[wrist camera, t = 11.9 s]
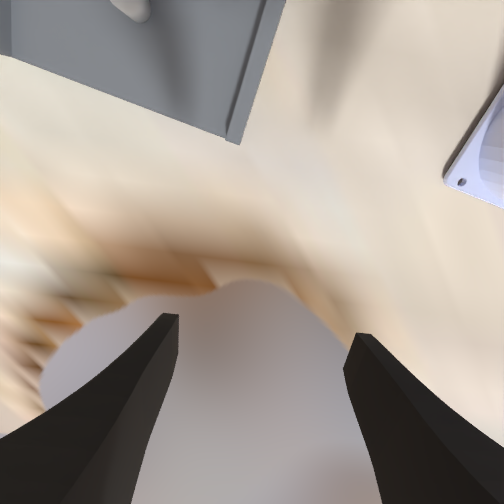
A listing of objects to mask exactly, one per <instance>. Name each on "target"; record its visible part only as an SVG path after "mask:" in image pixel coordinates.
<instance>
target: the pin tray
mask: <svg viewBox="0 0 504 504" xmlns="http://www.w3.org/2000/svg"><path fill="white" fill-rule="evenodd" d="M285 3H286V0H0V54H1V55H5V56H9V57H13V58H15V59H18V60H21V61H23V62H26V63H28V64H31V65H34V66H36V67H39V68H42V69H44V70H47V71H49V72H52V73H55V74H57V75H60V76H63V77H65V78H68V79H70V80H73V81H76V82H78V83H81V84H84V85H86V86H89V87H91V88H94V89H97V90H99V91H102V92H105V93H107V94H110V95H112V96H115V97H118V98H120V99H123V100H126V101H128V102H131V103H133V104H136V105H139V106H141V107H144V108H147V109H149V110H152V111H154V112H157V113H160V114H162V115H165V116H168V117H170V118H173V119H175V120H178V121H181V122H183V123H186V124H189V125H191V126H194V127H196V128H199V129H202V130H204V131H207V132H209V133H212V134H215V135H217V136H220V137H223V138H225V140H226V141H229V142H231V143H234V144H237V145H240V143H241V140H242V137H243V134H244V130H245V127H246V124H247V121H248V118H249V115H250V112H251V109H252V106H253V102H254V99H255V96H256V93H257V90H258V87H259V84H260V81H261V77H262V74H263V71H264V68H265V65H266V62H267V59H268V56H269V52H270V49H271V46H272V43H273V40H274V37H275V34H276V31H277V28H278V24H279V21H280V18H281V15H282V12H283V9H284V6H285Z"/></svg>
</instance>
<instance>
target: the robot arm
mask: <svg viewBox="0 0 504 504" xmlns="http://www.w3.org/2000/svg"><path fill="white" fill-rule="evenodd" d="M461 178H462V182H461V183H460V184H459V185H458V181H459V180H460V179H461ZM443 182H444V184H445V185H446V186H448V187H451V188H453V189H456V190H458V191H461V192H463V193H466V194H468V195H471V196H473V197H476V198H478V199H481V200H483V201H486V202H488V203H491V204H493V205H496V206H498V207H501V208H503V209H504V85H503V86H502V88H501V89H500V91H499V92H498V94H497V95H496V97H495V99H494V100H493V102H492V103H491V105H490V106H489V108H488V109H487V111H486V113H485V114H484V116H483V117H482V119H481V120H480V122H479V123H478V125H477V126H476V128H475V130H474V131H473V133H472V134H471V136H470V137H469V139H468V140H467V142H466V144H465V145H464V147H463V148H462V150H461V151H460V153H459V154H458V156H457V157H456V159H455V161H454V162H453V164H452V165H451V167H450V168H449V170H448V171H447V173H446V175H445V176H444V179H443ZM178 332H179V315H178V314H168V313H163V314H161V315H160V316H159V317H158V318H157V320H156V321H155V322H154V323H153V324H152V325H151V326H150V327H149V328H148V329H147V330H146V331H145V332H144V333H143V334H142V335H141V336H140V337H139V338H138V339H137V340H136V341H135V342H134V343H133V344H132V345H131V346H130V347H129V348H128V349H127V350H126V351H125V352H124V353H122V354H121V355H120V356H119V357H118V358H117V359H116V360H114V361H113V362H112V363H111V364H110V365H109V366H108V367H106V368H105V369H104V370H103V371H102V372H100V373H99V374H98V375H97V376H95V377H94V378H93V379H92V380H90V381H89V382H88V383H86V384H85V385H84V386H82V387H81V388H80V389H78V390H77V391H76V392H74V393H73V394H71V395H70V396H68V397H67V398H65V399H64V400H63V401H61V402H60V403H58V404H57V405H55V406H54V407H52V408H51V409H49V410H48V411H46V412H45V413H43V414H41V415H40V416H38V417H36V418H35V419H33V420H31V421H30V422H28V423H26V424H25V425H23V426H21V427H20V428H18V429H16V430H15V431H13V432H11V433H10V434H8V435H6V436H5V437H3V438H1V439H0V504H131V501H132V497H133V493H134V490H135V486H136V482H137V479H138V475H139V472H140V468H141V465H142V461H143V457H144V454H145V450H146V447H147V444H148V441H149V438H150V435H151V433H152V430H153V427H154V425H155V422H156V419H157V416H158V414H159V411H160V408H161V406H162V403H163V401H164V398H165V395H166V393H167V390H168V387H169V384H170V382H171V379H172V376H173V372H174V368H175V364H176V359H177V356H178ZM343 371H344V376H345V381H346V386H347V390H348V394H349V397H350V400H351V403H352V406H353V409H354V412H355V415H356V418H357V421H358V424H359V426H360V429H361V432H362V435H363V438H364V440H365V443H366V446H367V449H368V452H369V455H370V458H371V461H372V465H373V468H374V472H375V476H376V480H377V484H378V487H379V492H380V496H381V500H382V504H504V447H502V446H501V445H499V444H498V443H496V442H495V441H494V440H492V439H491V438H489V437H488V436H487V435H485V434H484V433H482V432H481V431H480V430H478V429H477V428H476V427H474V426H473V425H472V424H470V423H469V422H468V421H467V420H465V419H464V418H463V417H462V416H460V415H459V414H458V413H456V412H455V411H454V410H453V409H451V408H450V407H449V406H448V405H447V404H445V403H444V402H443V401H442V400H441V399H440V398H438V397H437V396H436V395H435V394H434V393H433V392H432V391H430V390H429V389H428V388H427V387H426V386H425V385H424V384H423V383H421V382H420V381H419V380H418V379H417V378H416V377H415V376H414V375H413V374H412V373H411V372H410V371H409V370H408V369H407V368H405V367H404V366H403V365H402V364H401V363H400V362H399V361H398V360H397V359H396V358H395V357H394V356H393V355H392V354H391V353H390V352H389V351H388V350H387V349H386V348H385V347H384V346H383V345H382V344H381V343H380V342H379V341H378V340H377V339H376V338H375V337H373V336H372V335H371V334H365V333H356V334H355V337H354V340H353V343H352V345H351V348H350V351H349V354H348V356H347V359H346V362H345V365H344V367H343Z"/></svg>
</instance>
